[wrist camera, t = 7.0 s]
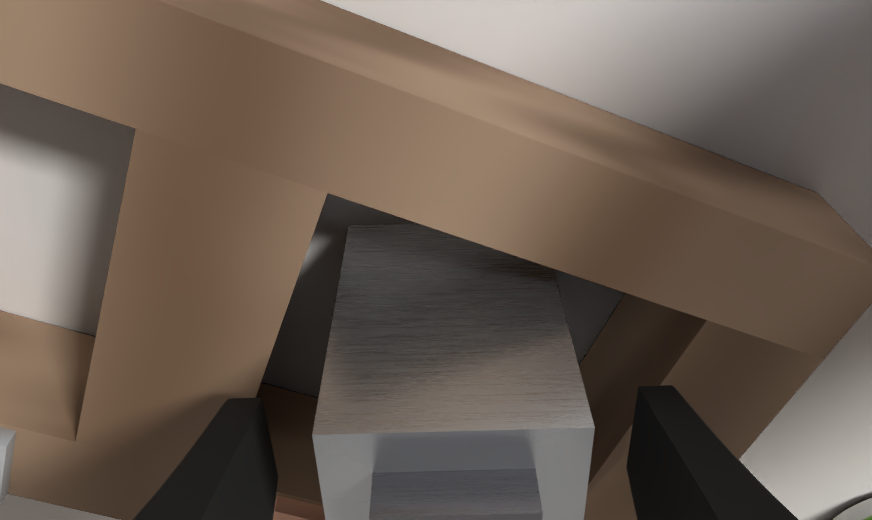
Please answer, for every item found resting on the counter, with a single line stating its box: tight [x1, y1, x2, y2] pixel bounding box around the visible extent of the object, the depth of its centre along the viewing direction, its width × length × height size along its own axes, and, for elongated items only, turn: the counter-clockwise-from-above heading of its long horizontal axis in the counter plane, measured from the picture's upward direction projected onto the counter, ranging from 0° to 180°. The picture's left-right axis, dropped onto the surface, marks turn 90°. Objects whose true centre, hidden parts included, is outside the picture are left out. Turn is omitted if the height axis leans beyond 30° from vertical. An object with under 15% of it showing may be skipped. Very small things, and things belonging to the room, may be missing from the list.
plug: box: [312, 224, 595, 520], centre depth 14 cm, size 4×4×7 cm
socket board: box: [0, 0, 872, 520], centre depth 14 cm, size 22×11×3 cm, turn 69°
